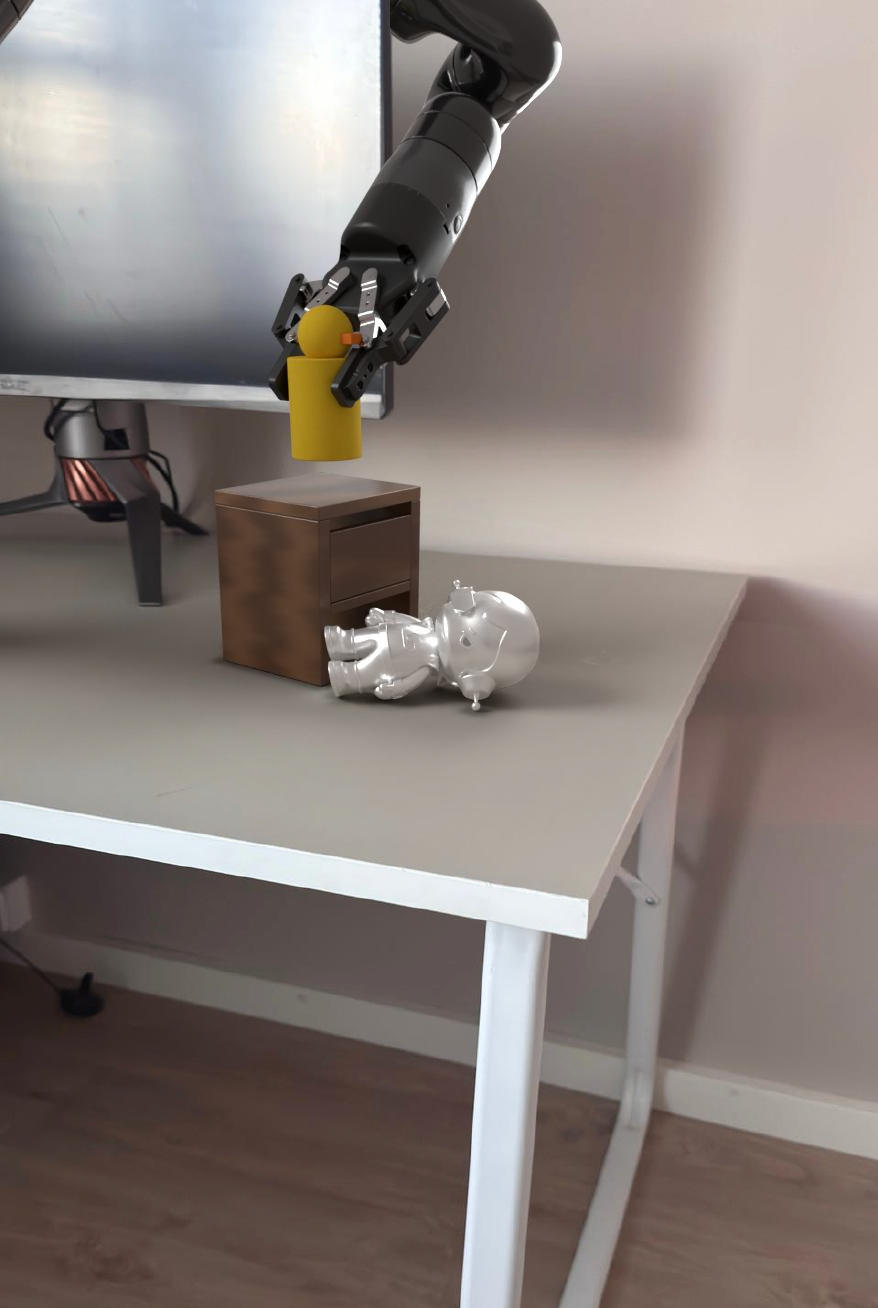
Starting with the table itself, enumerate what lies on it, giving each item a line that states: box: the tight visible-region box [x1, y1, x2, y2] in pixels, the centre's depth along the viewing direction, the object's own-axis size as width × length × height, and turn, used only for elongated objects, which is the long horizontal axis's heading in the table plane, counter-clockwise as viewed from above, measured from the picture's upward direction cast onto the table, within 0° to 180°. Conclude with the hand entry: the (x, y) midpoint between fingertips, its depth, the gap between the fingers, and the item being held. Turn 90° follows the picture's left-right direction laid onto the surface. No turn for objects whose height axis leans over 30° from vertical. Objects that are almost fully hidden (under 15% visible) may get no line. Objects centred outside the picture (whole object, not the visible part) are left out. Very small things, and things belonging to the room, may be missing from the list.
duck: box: [287, 305, 363, 462], centre depth 85 cm, size 6×5×10 cm
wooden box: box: [214, 471, 422, 687], centre depth 90 cm, size 10×12×13 cm
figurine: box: [324, 579, 541, 712], centre depth 84 cm, size 11×7×15 cm
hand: (308, 395), depth 84 cm, fingers closed on duck, 5 cm apart
